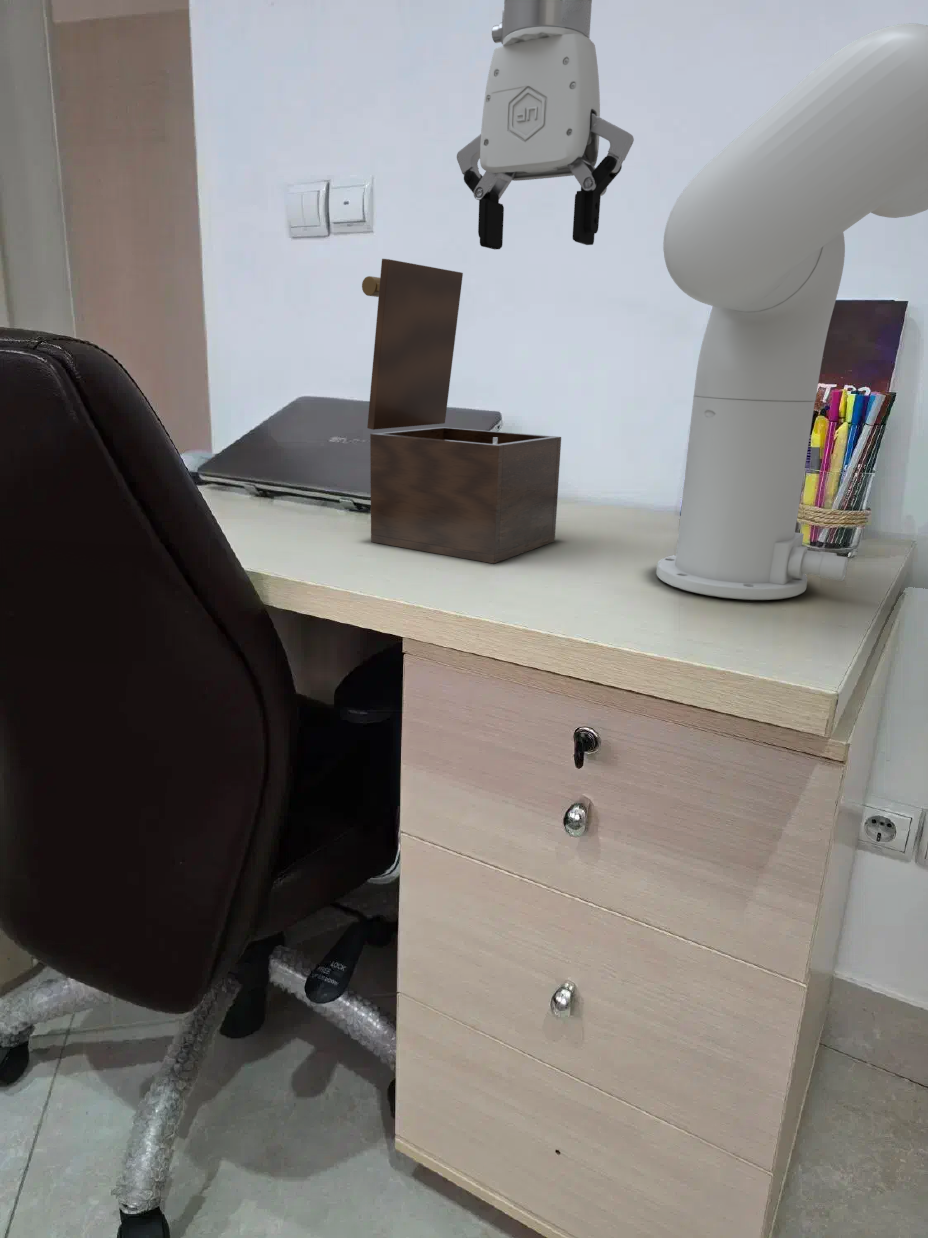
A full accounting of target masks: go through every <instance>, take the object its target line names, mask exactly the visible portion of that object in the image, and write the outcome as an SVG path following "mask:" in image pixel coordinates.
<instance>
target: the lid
mask: <svg viewBox="0 0 928 1238" xmlns="http://www.w3.org/2000/svg"><path fill="white" fill-rule="evenodd" d="M463 276H464V273H463V272H460V271H455V270H450V269H444V268H439V267H433V266H427V265H424V264H423V265H422V264H417V263H411V262H405V261H401V260H394V259H390V258H381V267H380V276H379V277H377V276H371V275H368V276H366V277H364V279H363V280H362V282H361V289H362V293H364V295H366V296H368V297H374V298H378V300H377V312H376V324H375V335H374V345H373V355H372V356H373V358H372V367H371V371H372V372H371V379H370V380H371V382H370V391H369V392H370V393H369V406H368V413H367V414H368V415H367V429H369V430H373V431H374V430H384V429H396V428H409V427H419V426H431V425H442V424H445V423H446V419H447V418H446V417H447V409H448V401H449V392H450V386H451V385H450V384H451V377H452V368H453V359H454V353H455V352H454V351H455V342H456V336H457V327H458V318H459V309H460V301H461V295H462V294H461V292H462V284H463Z"/></svg>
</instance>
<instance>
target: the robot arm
mask: <svg viewBox="0 0 928 1238" xmlns="http://www.w3.org/2000/svg"><path fill="white" fill-rule="evenodd" d="M503 4H504V5H503V9H502V14H501V15H502V18H501V22H499V24H496V25H495V24H494V25H493V26H492V28H491V38H492V41H493V42H494V44H499V43H500V44H501V45H502V46H499V47H496V48H494V50H493V53H492V58H491V61H490V66H489V69H488V75H487V81H486V87H485V93H484V99H483V108H482V119H481V128H480V134H479V135H478V136H476V137H475V138H473V139H472V140H471V141H470V142H468V144H466V145H465V146H463V148H461V149H460V150H459V151H458V152H457V153H456V160H457V163H458V166H459V169H460V171H461V174H462V175H463V181H464V184H465V185H466V186H467V187H468V189H469V190H470V191H471V192H472V194H473V197H474V199H475V200H477V201H478V221H477V223H478V225H477V234H478V237H479V245H480V246H481V248H482V247H483V248H485V249H492V250H501V248H502V247H503V241H504V239H503V238H504V215H505V207H504V204H503V203H500V200H501V198H502V196H503V195H504V193H505V191H506V190H507V189H508V187H509V185H510V184H511V182H513V181H515V182H516V181H518V182H519V181H531V180H541V179H543V180H544V179H552V178H553V179H554V178H564V177H571V176H574V177H575V179H576V181H577V182H578V184H579V185H580V190H577V191H576V193H575V195H574V207H573V224H572V241H574V242H575V243H579V244H581V245H585V246H593V245H594V244H595V234H597V233H598V232H599V225H600V210H601V197H602V196H604V195H605V194H606V192H607V190H608V186H609V185H610V184H611V183H612V182H613V180H614V179H615V178H616V177H617V176H618V175H619V174H620V172H621V171H622V167H623V162H624V161H625V160H626V158H627V156H628V154H629V152H630V150H631V148H632V146H633V144H634V141H635V138H634V135H633V134H631V133H630V132H628V131H626V130H625V129H623V128H621V127H619V126H617V125H615V124H613V123H612V122H610V121H607V120H606V119H604V118H602V117H601V97H600V96H601V95H600V79H599V77H600V76H599V66H598V58H597V57H598V56H597V51H596V45H595V43H594V42H593V41H592V39H590V37H591V22H592V20H591V19H592V4H593V0H503ZM600 138H603V139H604V140H606V141H608V142H609V148H608V150H607V152H608V153H607V154H606V156H604V158H602V160H601V161H599V163H598V165H597V166H596V164H597V161H598V157H599V150H600V149H599V148H600ZM479 162H480V163H479ZM478 163H479V164H480V167H481V169H482V170H484V171H485V172H484V174H483V175H482V174H481V173H480V170H479V165H478ZM595 166H596V167H595ZM925 211H928V24H924V23H923V24H922V23H910V22H909V23H900V24H899V23H898V24H894V25H890V26H886V27H883V28H879V29H875V30H874V31H871V32H869V33H867V34H865V35H863V36H860V37H859V38H857V39H855V40H853V41H851V42H849V43H848V44H846V45H845V46H843V47H842V48H840V49H839V50H837V51H836V52H835V53H833V54H831V55H830V56H829V57H828V58H827V59H825V60H824V61H823V62H821V63H820V64H819V65H818V66H817V67H816V68H814V69H813V70H811V72H810V73H808V74H807V75H806V76H805V77H803V79H802V80H800V81H798V83H797V84H796V85H795V86H793V87H792V88H791V89H790V90H789V91H788V92H786V93H785V94H784V95H783V96H782V97H781V98H780V99H779V100H777V102H775V103H774V104H773V105H772V106H771V107H769V108H768V109H767V110H766V111H765V112H764V113H763V114H762V115H761V116H760V117H758V118H756V120H755V121H754V122H752V124H750V125H749V126H747V128H746V129H744V131H742V132H741V133H740V134H739V135H738V136H737V137H735V138H734V139H733V140H732V141H731V142H729V144H728V145H727V146H725V147H724V148H723V149H722V150H721V151H720V152H718V154H716V155H715V156H714V157H713V158H712V159H710V161H708V163H706V164H705V165H704V166H703V167H702V168H701V169H700V170H699V171H698V172H697V174H695V175H694V176H693V178H692V179H691V180H689V182H688V183H687V184H686V186H685V187H684V189H683V190H682V191H681V193H680V194H679V196H678V197H677V198H676V201H675V202H674V204H673V206H672V208H671V211H670V213H669V215H668V218H667V220H666V224H665V228H664V233H663V243H662V244H663V245H662V248H663V250H662V251H663V258H664V262H665V266H666V269H667V271H668V274H669V275H670V278H671V279H672V280H673V282H674V284H675V285H676V286H677V287H678V289H680V290H681V291H682V293H684V294H686V295H687V296H688V297H689V298H691V299H693V300H695V301H697V302H699V303H702V304H705V305H708V306H711V311H710V314H709V318H708V321H707V324H706V327H705V331H704V335H703V338H702V342H701V344H700V345H701V346H700V350H699V355H698V361H697V366H696V372H695V381H694V391H693V396H692V405H691V406H692V407H691V416H690V425H689V433H688V442H687V443H688V444H687V451H686V453H687V454H686V461H685V470H684V471H685V472H684V480H683V489H682V491H683V492H682V499H681V507H680V516H679V527H678V536H677V544H676V553H675V554H673V555H669V556H665V557H663V558H661V559H659V560H658V562H657V563H656V574H655V575H656V576H657V577H658V579H659V580H660V581H662V582H663V583H665V584H667V585H669V586H671V587H674V588H677V589H680V590H682V591H686V592H690V593H695V594H699V595H705V596H710V597H717V598H722V599H735V600H748V601H749V600H750V601H770V600H783V599H789V598H793V597H797V596H799V595H801V594H804V593H805V592H806V590H807V587H808V576H807V575H811V576H817V577H819V578H820V579H821V578H822V579H828V580H835V581H841V582H843V581H845V578H846V574H847V569H848V564H849V558H848V556H841V555H838V554H837V552H829V551H824V550H823V551H822V550H820V551H817V550H810V549H809V548H808V546H804V545H803V540H804V533H802V532H796V528H797V521H798V515H799V509H800V503H801V495H802V489H803V481H804V476H805V470H806V462H807V456H808V449H809V442H810V436H811V429H812V423H813V418H814V417H813V416H814V410H815V404H816V400H817V393H818V387H819V380H820V374H821V368H822V362H823V358H824V357H823V356H824V351H825V346H826V342H827V337H828V333H829V332H828V331H829V328H830V323H831V319H832V317H833V316H832V315H833V311H834V309H835V305H836V301H837V297H838V294H839V289H840V286H841V281H842V276H843V272H844V265H845V258H846V244H845V234H844V232H845V231H847V230H848V229H850V228H852V226H854V225H855V224H857V223H858V222H859V221H861V220H862V219H864V218H865V217H866V216H868V215H869V214H870V213H871V214H873V215H875V216H878V217H882V218H883V217H884V218H889V219H890V218H891V219H898V218H906V217H912V216H914V215H917V214H920V213H922V212H925Z"/></svg>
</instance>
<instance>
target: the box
mask: <svg viewBox="0 0 928 1238" xmlns="http://www.w3.org/2000/svg"><path fill="white" fill-rule="evenodd" d="M369 436H370V437H369V438H370V439H369V441H370V443H369V444H370V449H369V450H370V452H369V453H370V455H369V457H370V460H369V461H370V542H371V543H375V544H380V545H386V546H393V547H398V548H403V549H410V550H414V551H415V550H416V551H420V552H426V553H431V554H437V555H443V556H448V557H449V556H450V557H455V558H461V559H466V560H471V561H477V562H483V563H488V564H496V563H499V562H502V561H505V560H508V559H511V558H513V557H517V556H519V555H521V554H524V553H527V552H529V551H532V550H535V549H538V548H541V547H544V546H546V545H548V544H552V543H554V542H556V527H557V514H558V513H557V512H558V499H559V498H558V496H559V481H560V465H561V464H560V463H561V449H562V436H555V435H544V434H530V433H520V432H519V433H518V432H506V431H495V430H482V429H471V428H460V427H459V428H458V427H445V426H441V427H440V426H439V427H428V428H419V429H406V430H396V431H387V432H386V431H385V432H376V433H370V435H369ZM493 437H497V438H498V444H493Z"/></svg>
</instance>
